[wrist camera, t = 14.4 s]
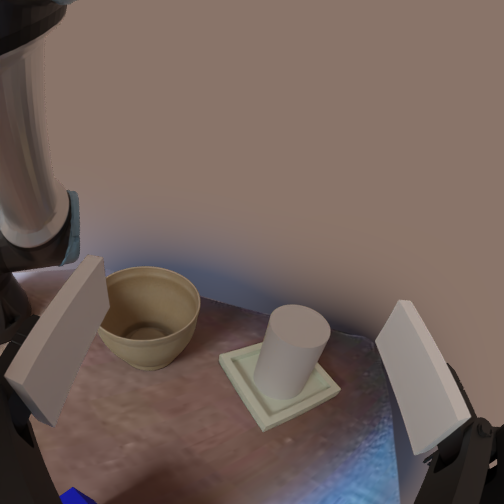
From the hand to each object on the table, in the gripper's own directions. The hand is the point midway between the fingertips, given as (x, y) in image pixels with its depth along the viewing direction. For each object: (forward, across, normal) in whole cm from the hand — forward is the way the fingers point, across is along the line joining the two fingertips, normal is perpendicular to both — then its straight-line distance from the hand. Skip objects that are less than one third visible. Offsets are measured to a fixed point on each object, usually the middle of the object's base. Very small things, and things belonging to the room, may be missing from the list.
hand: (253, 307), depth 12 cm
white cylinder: (+18, +9, -29) cm, 35 cm away
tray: (+18, +9, -30) cm, 36 cm away
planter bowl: (+20, -12, -30) cm, 38 cm away
